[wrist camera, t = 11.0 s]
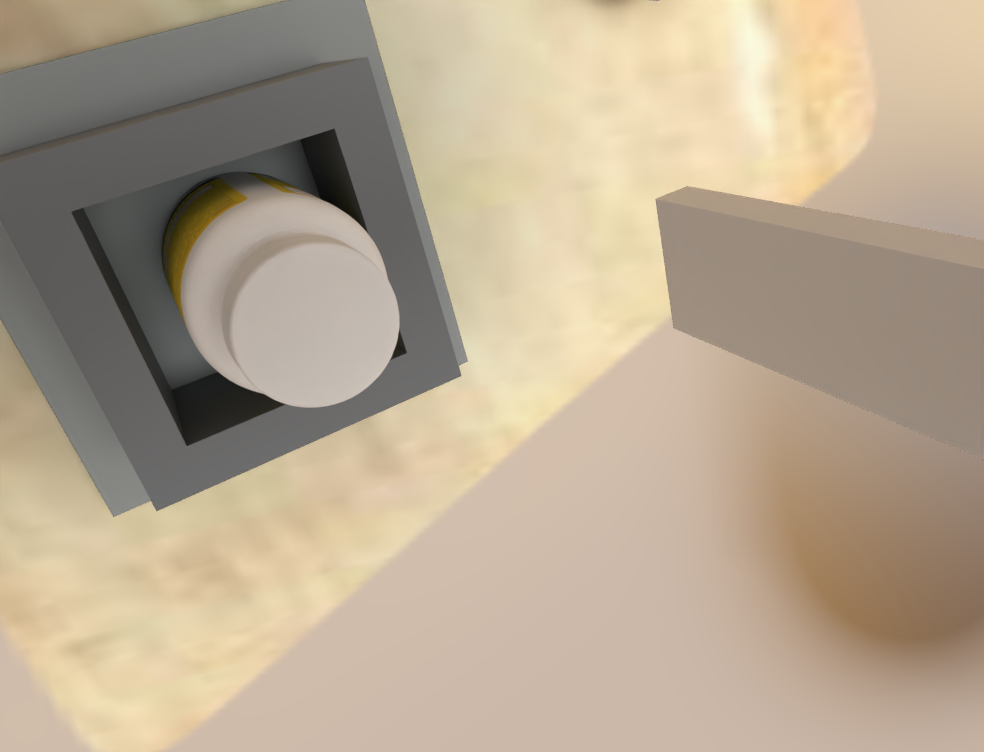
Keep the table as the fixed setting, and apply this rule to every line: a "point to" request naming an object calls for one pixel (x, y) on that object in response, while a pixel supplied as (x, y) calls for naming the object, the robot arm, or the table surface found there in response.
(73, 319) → the socket board
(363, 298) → the supplement bottle
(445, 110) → the table surface
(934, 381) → the robot arm
